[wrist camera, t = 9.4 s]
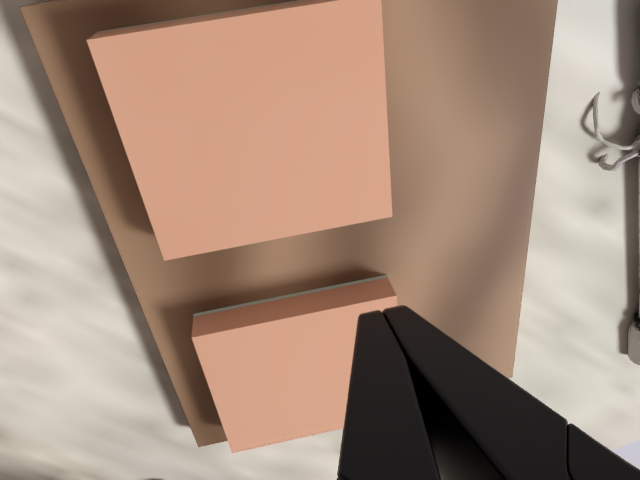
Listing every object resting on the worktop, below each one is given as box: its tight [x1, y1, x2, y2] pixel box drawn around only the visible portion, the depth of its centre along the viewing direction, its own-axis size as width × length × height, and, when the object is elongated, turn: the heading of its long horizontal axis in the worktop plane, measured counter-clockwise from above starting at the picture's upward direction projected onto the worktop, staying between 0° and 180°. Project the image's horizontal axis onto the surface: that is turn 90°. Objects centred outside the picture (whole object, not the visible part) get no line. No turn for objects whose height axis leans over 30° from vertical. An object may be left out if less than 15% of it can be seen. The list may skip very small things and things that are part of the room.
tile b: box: [87, 0, 392, 261], centre depth 18 cm, size 2×8×9 cm
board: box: [20, 0, 558, 447], centre depth 22 cm, size 18×22×1 cm
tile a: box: [192, 275, 397, 453], centre depth 24 cm, size 2×8×9 cm
